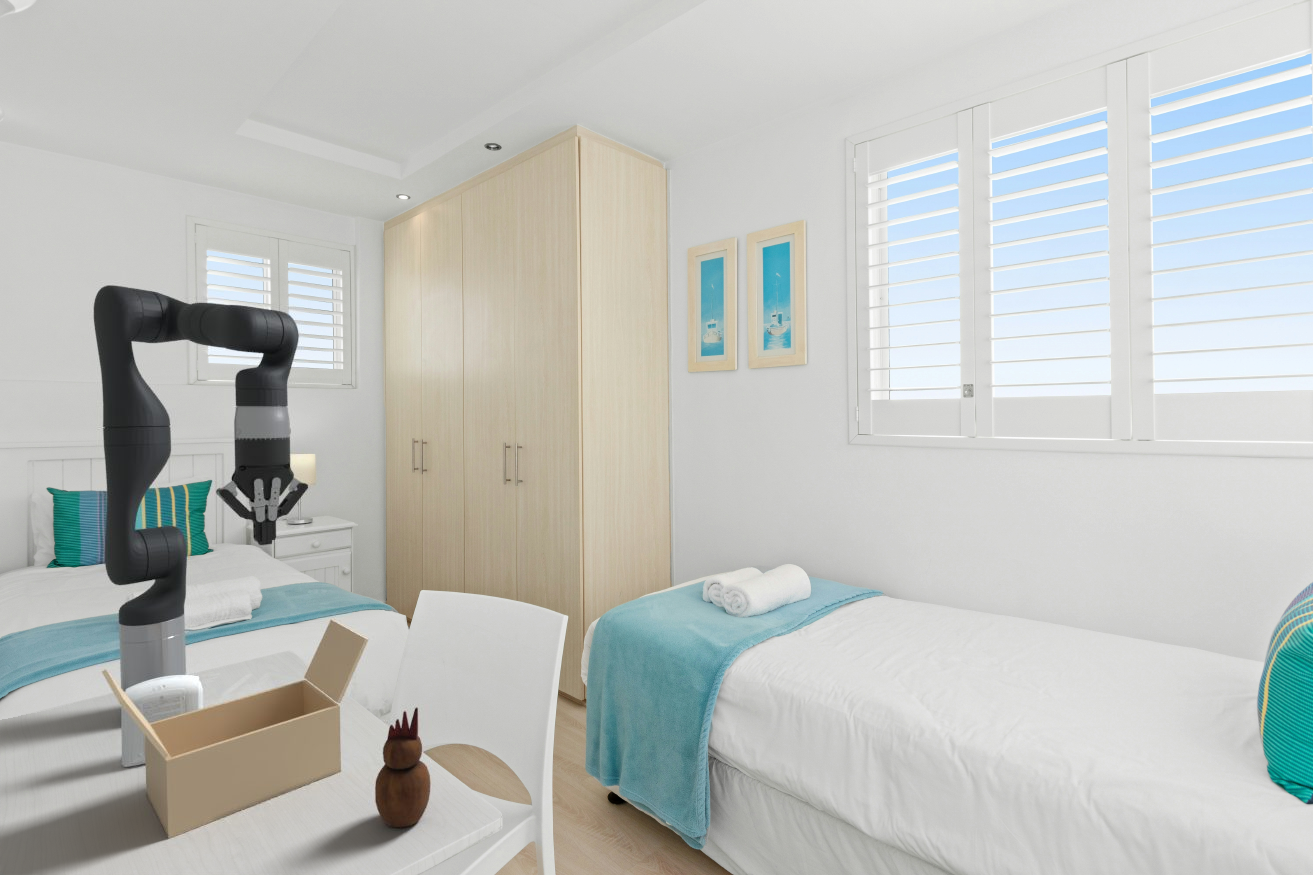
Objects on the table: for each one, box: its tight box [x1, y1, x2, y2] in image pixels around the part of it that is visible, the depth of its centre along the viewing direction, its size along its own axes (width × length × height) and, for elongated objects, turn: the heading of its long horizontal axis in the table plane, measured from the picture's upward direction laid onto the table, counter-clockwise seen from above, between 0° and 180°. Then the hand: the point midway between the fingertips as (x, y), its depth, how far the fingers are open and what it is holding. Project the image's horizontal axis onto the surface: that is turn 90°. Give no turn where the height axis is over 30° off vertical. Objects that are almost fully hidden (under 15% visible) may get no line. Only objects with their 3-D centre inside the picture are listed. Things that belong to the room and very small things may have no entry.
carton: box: [144, 679, 342, 839], centre depth 94 cm, size 14×21×10 cm, turn 137°
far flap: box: [303, 619, 369, 704], centre depth 103 cm, size 14×10×1 cm
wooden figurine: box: [374, 707, 431, 828], centre depth 85 cm, size 7×6×15 cm
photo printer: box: [120, 674, 204, 768], centre depth 101 cm, size 10×4×12 cm, turn 123°
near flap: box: [101, 669, 169, 759], centre depth 84 cm, size 14×10×1 cm
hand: (264, 543), depth 103 cm, fingers closed
